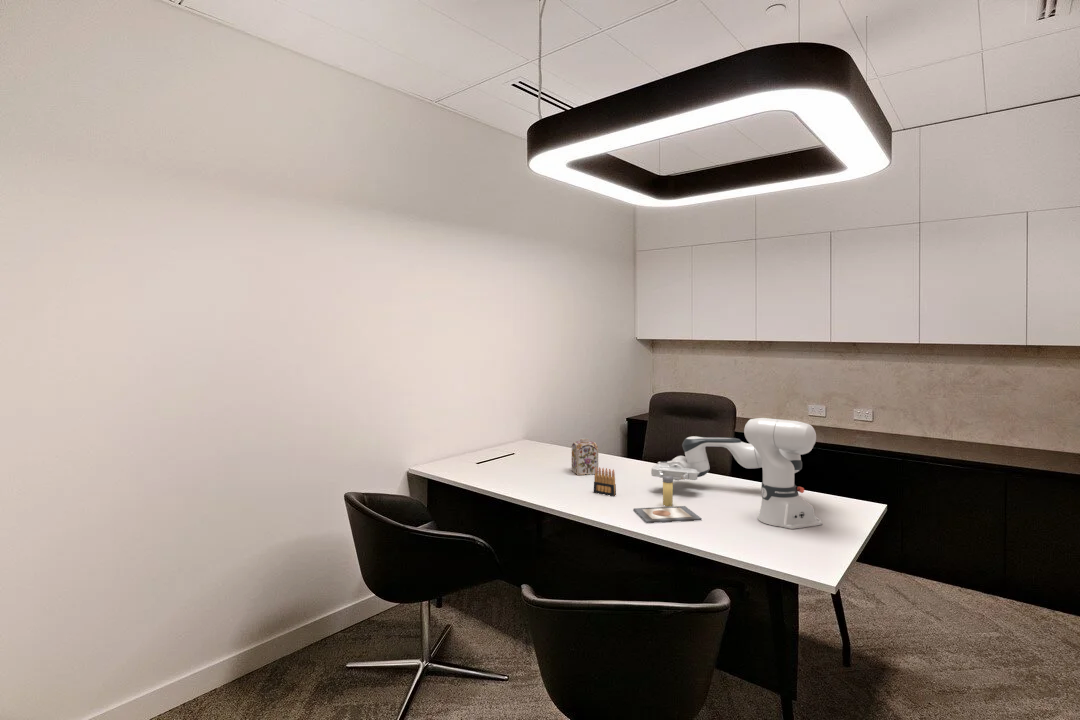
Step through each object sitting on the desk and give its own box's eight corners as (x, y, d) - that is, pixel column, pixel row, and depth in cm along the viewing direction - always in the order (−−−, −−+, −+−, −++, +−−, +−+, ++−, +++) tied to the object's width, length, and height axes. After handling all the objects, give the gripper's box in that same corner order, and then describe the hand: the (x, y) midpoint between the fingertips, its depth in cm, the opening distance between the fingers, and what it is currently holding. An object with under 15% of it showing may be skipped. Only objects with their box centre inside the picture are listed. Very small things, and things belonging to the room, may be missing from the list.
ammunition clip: (616, 495, 246) (616, 469, 245) (614, 496, 244) (614, 469, 244) (595, 491, 252) (595, 465, 252) (593, 492, 251) (593, 466, 250)
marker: (670, 503, 234) (670, 475, 233) (674, 506, 230) (674, 477, 229) (661, 503, 233) (661, 475, 233) (664, 506, 229) (664, 478, 229)
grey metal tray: (684, 507, 227) (684, 505, 227) (701, 520, 211) (701, 517, 211) (633, 510, 224) (633, 507, 224) (646, 523, 208) (646, 520, 208)
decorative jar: (576, 475, 282) (576, 441, 281) (571, 470, 293) (570, 437, 293) (599, 474, 284) (599, 440, 284) (592, 469, 296) (592, 436, 295)
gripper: (700, 479, 250) (696, 486, 237) (654, 474, 258) (648, 481, 245) (700, 465, 250) (696, 471, 237) (654, 461, 257) (649, 467, 245)
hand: (671, 476), depth 241 cm, fingers open, 8 cm apart
